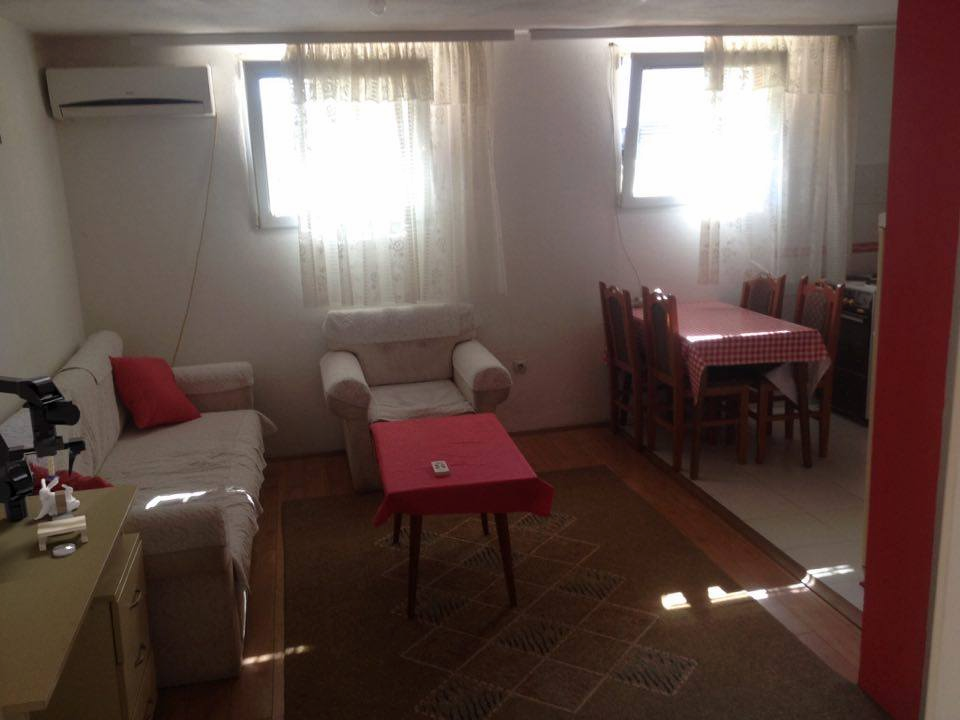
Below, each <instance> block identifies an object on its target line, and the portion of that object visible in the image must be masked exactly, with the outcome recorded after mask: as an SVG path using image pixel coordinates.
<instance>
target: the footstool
mask: <svg viewBox="0 0 960 720" xmlns="http://www.w3.org/2000/svg"><path fill="white" fill-rule="evenodd" d="M72 531H74V532H77V531H80V537H81V543H82V544H83V543H87V542H89V538H88V529H87V522H86V515H85V514H84V515H78V516H74V517H72V518H67V519H61V520H56V521H52V520H51V521H45V522H40V523H37V540H38V547H39V551H40V552H42V551H43V552H44V551H47V543H46V542H47V537H50V536H57V535H56V534H59V535H62V534H61V533H64V534H68V533H67V532H69V533H73V532H72Z"/></svg>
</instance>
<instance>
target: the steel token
mask: <svg viewBox="0 0 960 720" xmlns="http://www.w3.org/2000/svg"><path fill="white" fill-rule="evenodd" d="M75 552H76V544H75V543H62V544H58V545H57V546H54V547H53V548H52V554H53V556H54V557H66V556H69V555H72V554H74V553H75Z"/></svg>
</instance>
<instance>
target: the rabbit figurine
mask: <svg viewBox="0 0 960 720" xmlns="http://www.w3.org/2000/svg"><path fill="white" fill-rule="evenodd" d="M58 483H59V479H58V478H57V477H56V478H55V479H54V480H53V481H50V482H49V483H48V485H46V484H47V483H46V478H42V479H41V481H40V484H41V489H39V491H38V492H39V494H38V498H39V500H40V503H41V505H42V507H41V509H40V511H39V513H38V516H36V517H34V518H33V520H35V521H36V520H40V519H43V517H44V516H46V515H48V516H50V517H52V515H56V514H57V508H56V501H55V491H54V492H52V491H51V489H52V488H53V487H54V486H56V485H58ZM61 487H62V488H65V496H66V504H67V511H68V512H73V510H75V509H77V508H78V507H79V506H80V503H81V502H80V500H78V499H76V497H74V496H72V493H73V492H74V490H73V489H74V488H73V487H71V486H68V485H67V484H61Z"/></svg>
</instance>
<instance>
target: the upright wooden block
mask: <svg viewBox="0 0 960 720" xmlns="http://www.w3.org/2000/svg"><path fill="white" fill-rule="evenodd" d="M65 491H66V489H63V490H56V491H54V492H55V501H56V508H57V514H56V515H52V516H51V521H56V520H61V519H67V518H72V517H75V516H74V511H71V512H68V511H67V504H66V496H65ZM74 532H75V531H72V532H71V533H74ZM68 533H70V532H67V533H66V534H68ZM63 534H64V535H65V533H61V534H56V535H55V536H58V535H63Z"/></svg>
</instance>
